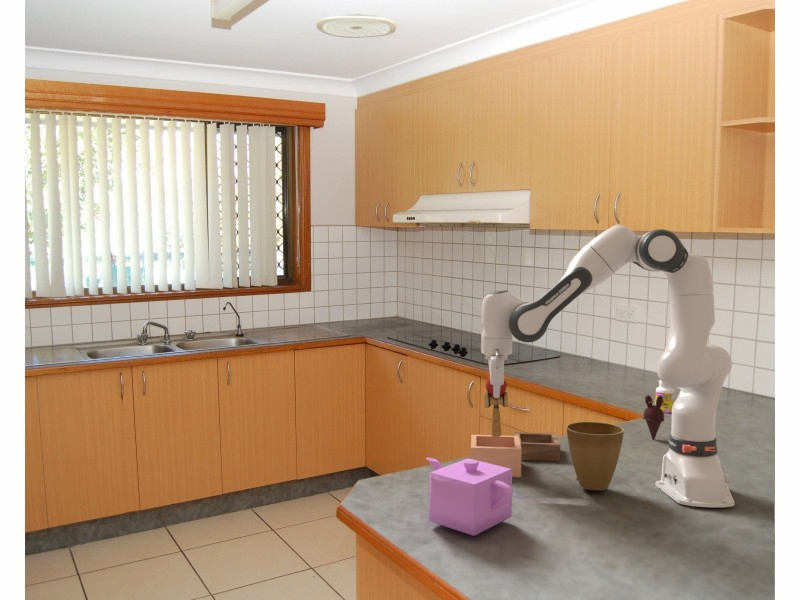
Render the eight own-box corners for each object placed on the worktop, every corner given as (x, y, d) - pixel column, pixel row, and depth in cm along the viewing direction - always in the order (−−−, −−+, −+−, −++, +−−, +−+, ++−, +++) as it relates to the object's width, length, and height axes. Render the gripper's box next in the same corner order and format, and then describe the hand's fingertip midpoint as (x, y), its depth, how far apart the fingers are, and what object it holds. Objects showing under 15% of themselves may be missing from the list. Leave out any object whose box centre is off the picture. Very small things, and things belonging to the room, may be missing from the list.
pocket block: (560, 461, 214) (560, 444, 213) (516, 459, 215) (516, 443, 215) (555, 448, 227) (555, 433, 226) (514, 447, 228) (514, 432, 228)
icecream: (644, 442, 234) (645, 397, 233) (640, 436, 241) (641, 392, 240) (666, 443, 233) (667, 397, 232) (661, 437, 240) (662, 393, 239)
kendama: (479, 437, 206) (479, 377, 203) (485, 430, 212) (486, 371, 209) (505, 440, 203) (506, 379, 200) (510, 433, 208) (511, 374, 206)
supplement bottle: (652, 414, 273) (653, 381, 272) (658, 411, 278) (659, 378, 277) (669, 417, 269) (670, 383, 268) (676, 413, 274) (677, 380, 273)
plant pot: (634, 489, 189) (636, 429, 188) (594, 499, 181) (595, 437, 180) (593, 473, 202) (594, 418, 201) (553, 482, 194) (554, 425, 193)
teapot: (445, 497, 183) (445, 443, 182) (529, 522, 167) (530, 463, 166) (406, 513, 172) (406, 456, 171) (492, 542, 155) (493, 479, 154)
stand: (521, 477, 199) (521, 449, 198) (470, 475, 200) (470, 447, 200) (518, 462, 213) (518, 435, 212) (471, 460, 214) (471, 434, 213)
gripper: (509, 352, 193) (508, 403, 194) (506, 342, 213) (506, 388, 214) (485, 352, 194) (485, 402, 195) (485, 342, 214) (484, 387, 215)
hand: (496, 394), depth 205 cm, fingers closed on kendama, 6 cm apart
